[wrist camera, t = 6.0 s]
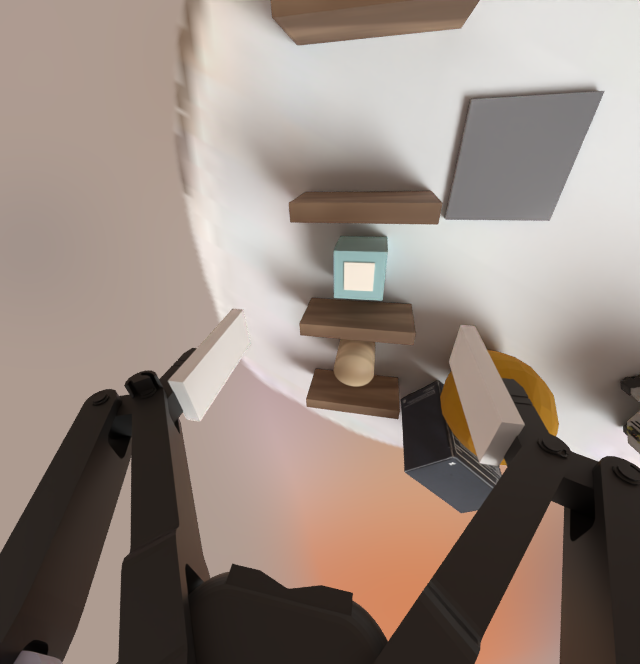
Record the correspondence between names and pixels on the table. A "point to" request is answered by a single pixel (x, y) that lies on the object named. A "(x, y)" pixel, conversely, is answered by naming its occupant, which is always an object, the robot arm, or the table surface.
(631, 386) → the figurine
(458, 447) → the small box
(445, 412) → the apple
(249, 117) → the table surface
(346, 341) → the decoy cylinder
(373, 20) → the divider rack
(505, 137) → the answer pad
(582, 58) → the table surface
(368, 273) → the letter cube
